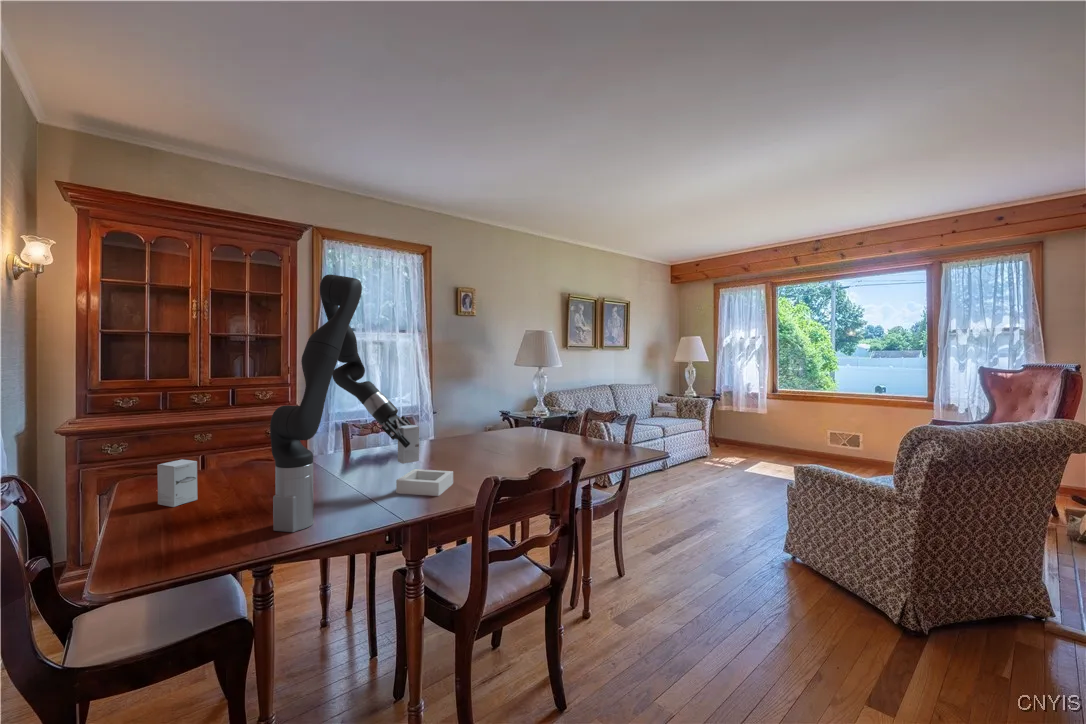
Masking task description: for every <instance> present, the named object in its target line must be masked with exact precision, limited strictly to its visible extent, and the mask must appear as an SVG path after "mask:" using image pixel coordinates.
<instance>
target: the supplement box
mask: <svg viewBox="0 0 1086 724" xmlns="http://www.w3.org/2000/svg"><path fill="white" fill-rule="evenodd" d="M194 501H198V461H197V460H190V459H179V460H172V461H168V462H163V463H160V464H157V505H160V506H166V507H171V508H175V507H179V506H180V505H183V504H188V503H191V502H194Z"/></svg>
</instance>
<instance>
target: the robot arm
mask: <svg viewBox="0 0 1086 724" xmlns="http://www.w3.org/2000/svg"><path fill="white" fill-rule="evenodd" d="M362 285H363V284H362V282H361V281H360V279H357V278H355V277H350V276H343V275H337V274H325V275H324V276H323V277H322V278H321V281H320V284H319V295H320V299H321V303H322V307H323V310H324V313H325V316H326V318H327V321H326V322H325V323H324V324H323V325H321V326H320V327H319V328H317V329H316V330H314V332H313V333H312V334H311V335H310V337H308V339H307V342H306V345H305V347H304V350H303V352H302V356H301V362H300V363H301V370H302V373H303V377H304V381H305V382H304V383H305V389H304V393H303V397H302V399H301V402H300V404H299V405H291V404H290V405H289V404H288V405H287V404H285V405H281V406H279V407H277V408H276V409H275V410H274V412H273V413H272V415H271V418H270V424H269V425H270V426H269V430H270V432H269V433H270V445H271V446H270V447H271V455H272V457H273V459H274V467H275V471H274V473H275V478H274V479H275V483H274V485H275V495H273V497H272V502H273V503H272V505H273V506H272V507H273V508H272V510H273V511H272V516H273V518H272V521H273V529H272V530H273V531H274V532H285V533H296V532H297V531H300V530H304V529H307V528H309V527H311V526H312V525H314V524H315V523H314V521H315V520H314V509H315V508H314V454H313V451H311V450H310V449H308V448H307V447H305V446H304V445H303V443H302V442H301V441H308V440H310V439H311V440H312V438H313V437H314V436H315V435H316V434H317V431H318V430H319V428H320V426H321V421H322V417H323V412H324V408H325V403H326V400H327V399H326V398H327V394H328V391H329V388H330V385H331V384H330V383H331V380H333V381H334V383H335V384H336V385H337V386H339V387H340V388H341V389H343V390H345V391H346V392H348V393H349V394H351V395H353V396H354V397H355V398H356V399H357V400H358V401H359V402H360V403H361V404H362V405H363V406H364V408H365V409H366V411H367V412H368V413H369V414H370V415H371V417H372V418H373V419H374V420H375V421H376V422H378V424H379V425H380V427H381V428H380V429H382V431H384V432H385V434H386V435H387V436H389V437H390V438H391V439H392V440H393V441H398V440H399V441H400V443H401V444H402V445H403V446H404V447H405V448H406V447H408V446H409V445H410V442H409V441H408V440H407V438H406V437H405V436H404V435H403V434H402V432H401V427H400V426H406V425H413V424H412V423H411V422H410V421H409V420H408V419H407V417H406V416H405V415H402V416H401V417H400V416H399V415H398V413H399V409H398V408H397V406H395V405H394V404H393V403H392V402H391V401H390V400H389V398H387V396H386V395H385V394H384V393H382V391H380V390H379V389H378V388H377V386H376V385H374V383H373V382H372V381H370V380H367V381H362V382H360V381H359V380H361V379H362V378H363V377H364V375H365V373H366V369H365V366H364V364H363V361H362V360H361V357H360V355H359V351H358V350H359V348H358V342H357V337H356V333H355V331H354V330H353V329H352V327H351V325H350V324H351V322H352V319H353V317H354V315H355V312H356V311H357V308H358V305H359V303H360V301H361V297H362V293H363V292H362V291H363V286H362ZM338 362H339V363H344V364H342V365H339V366H338V367H336V365H337V363H338ZM358 381H359V382H358ZM402 435H403V436H402ZM419 440H420V437H419Z"/></svg>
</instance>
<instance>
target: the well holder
mask: <svg viewBox="0 0 1086 724" xmlns="http://www.w3.org/2000/svg"><path fill="white" fill-rule="evenodd" d="M395 483H396V487H395V491H396V493H395V494H401V495H414V496H415V495H417V496H418V495H419V496H432V497H440V496H441V495H442V494H443V493H444V492H446V491H447V490H448V489H449V488H450V487H452V486H453V484H454V471H453V470H435V469H421V468H420V469H416V468H414V469H412V470H411V471H409V472H407V473H406V474H405V473H404V475H402V476H401V477H399V478H397V479H396V482H395Z"/></svg>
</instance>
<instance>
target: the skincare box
mask: <svg viewBox="0 0 1086 724" xmlns="http://www.w3.org/2000/svg"><path fill="white" fill-rule="evenodd" d="M400 427H401V432H402V434H403V435H404V436H405V437H406V438H407V440H408V441H409V442H410V445H409V446H408V447H406V448H405V447H404V446H403V445H402V444H401V443H400V441H399V440H397V462H398V463H400V464H403V465H404V464H409V463H414V462H418V461H420V439H419V438H420V426H419V425H415V424H412V425H406V426H400ZM403 435H402V436H403Z"/></svg>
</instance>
